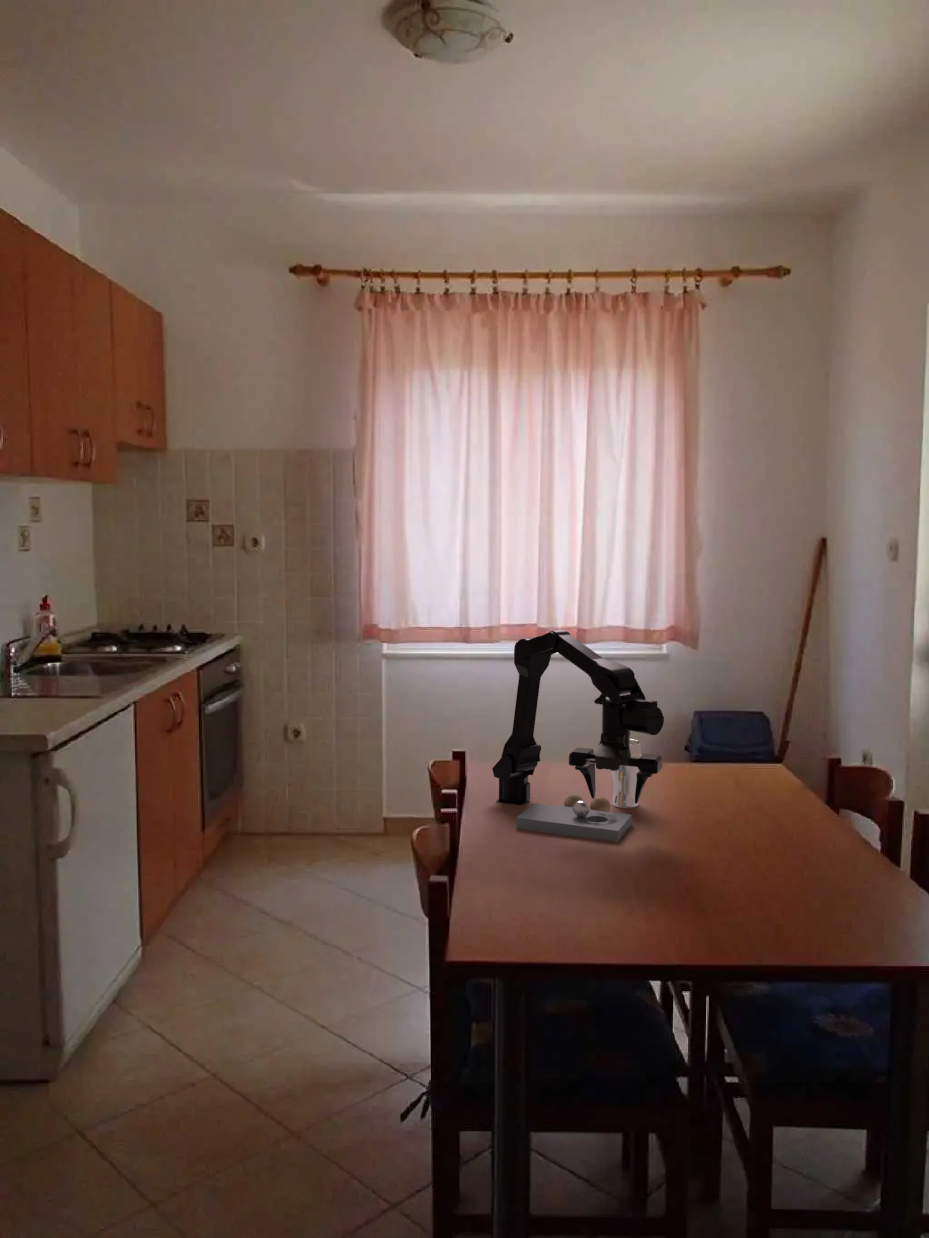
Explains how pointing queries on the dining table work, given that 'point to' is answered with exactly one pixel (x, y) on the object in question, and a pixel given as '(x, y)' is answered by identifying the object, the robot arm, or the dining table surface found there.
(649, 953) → the dining table surface
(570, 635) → the robot arm
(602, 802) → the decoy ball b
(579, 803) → the steel ball
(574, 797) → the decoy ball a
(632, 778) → the beer glass
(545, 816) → the plate
